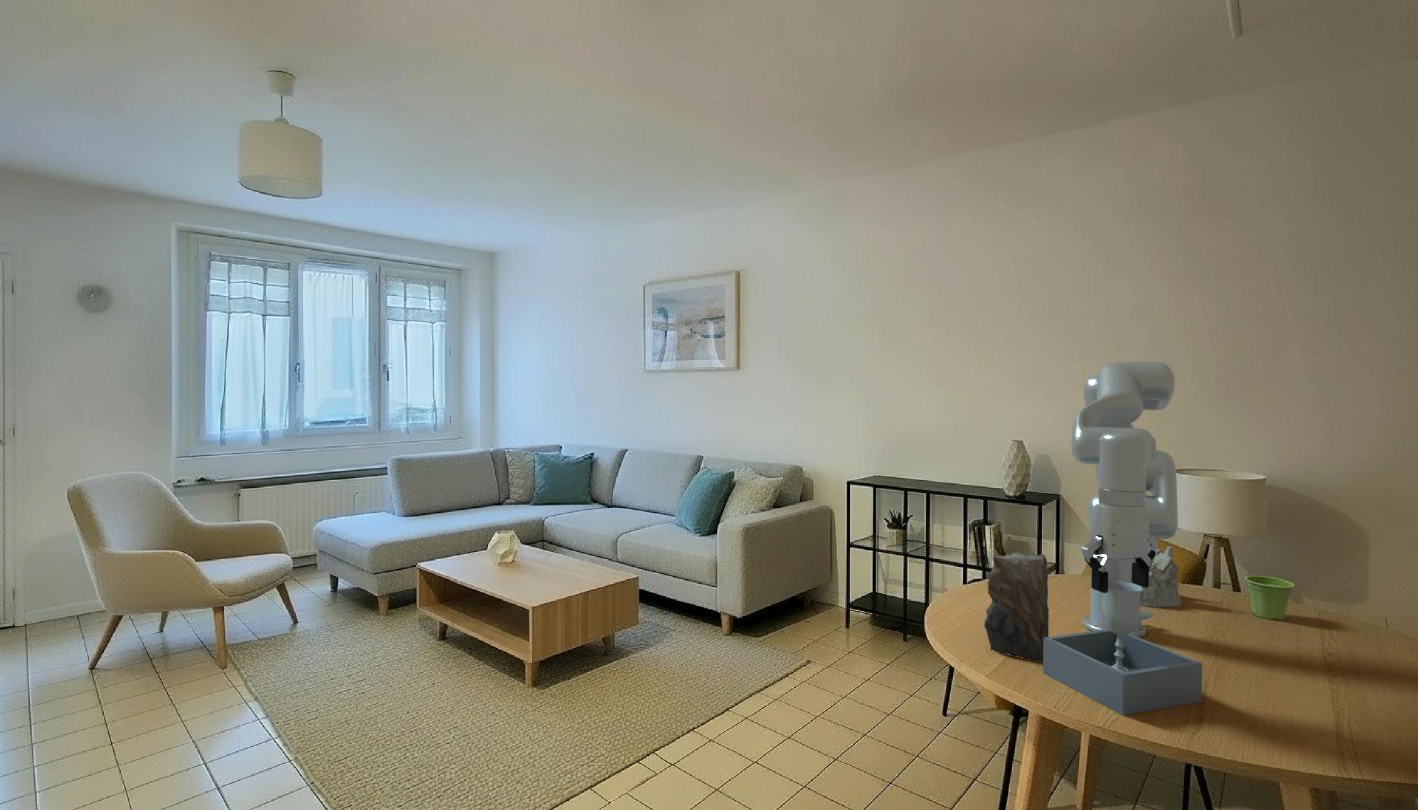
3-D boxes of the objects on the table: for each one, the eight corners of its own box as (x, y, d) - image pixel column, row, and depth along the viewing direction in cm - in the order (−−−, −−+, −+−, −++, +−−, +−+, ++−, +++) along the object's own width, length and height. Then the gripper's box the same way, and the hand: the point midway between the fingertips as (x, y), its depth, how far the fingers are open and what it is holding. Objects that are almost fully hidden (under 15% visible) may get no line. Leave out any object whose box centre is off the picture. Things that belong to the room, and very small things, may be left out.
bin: (1114, 661, 138) (1115, 628, 138) (1201, 701, 121) (1202, 662, 120) (1043, 672, 133) (1043, 637, 133) (1122, 715, 115) (1123, 675, 115)
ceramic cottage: (1161, 589, 187) (1160, 536, 186) (1193, 611, 171) (1191, 553, 170) (1100, 589, 189) (1098, 537, 189) (1126, 611, 173) (1123, 554, 172)
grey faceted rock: (982, 650, 144) (983, 557, 143) (996, 632, 154) (997, 546, 154) (1048, 664, 137) (1049, 567, 136) (1057, 645, 147) (1058, 554, 146)
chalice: (1088, 672, 130) (1091, 580, 130) (1121, 671, 131) (1124, 579, 130) (1115, 689, 123) (1118, 591, 122) (1149, 688, 123) (1152, 591, 123)
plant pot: (1299, 617, 164) (1300, 582, 164) (1286, 625, 159) (1287, 588, 159) (1252, 607, 172) (1252, 573, 172) (1238, 614, 167) (1238, 579, 166)
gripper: (1139, 491, 132) (1137, 577, 133) (1068, 497, 127) (1067, 586, 128) (1175, 498, 125) (1173, 589, 126) (1101, 505, 120) (1100, 599, 121)
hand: (1120, 587), depth 127 cm, fingers open, 9 cm apart
